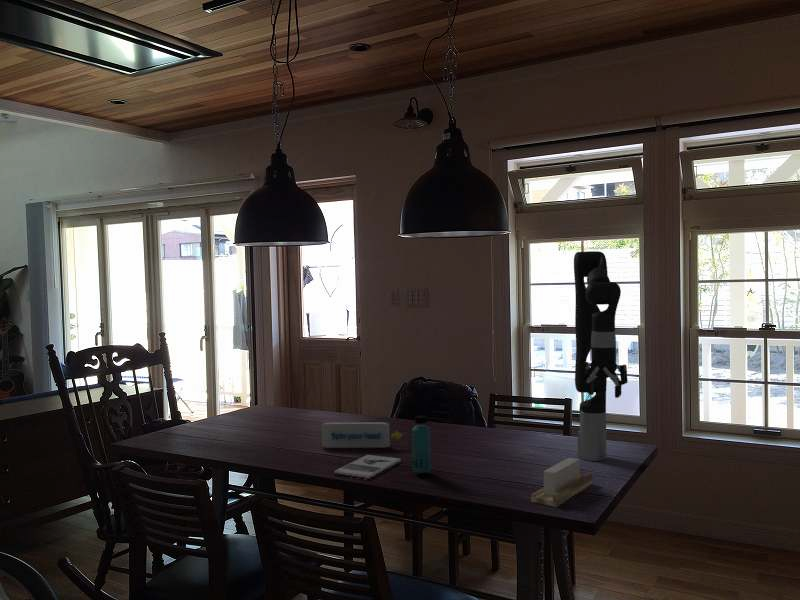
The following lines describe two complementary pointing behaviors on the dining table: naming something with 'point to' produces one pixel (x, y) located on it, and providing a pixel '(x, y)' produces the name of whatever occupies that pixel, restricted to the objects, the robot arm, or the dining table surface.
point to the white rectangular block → (561, 475)
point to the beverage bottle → (421, 446)
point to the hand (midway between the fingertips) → (604, 396)
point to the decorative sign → (357, 434)
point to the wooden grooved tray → (562, 492)
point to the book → (368, 466)
